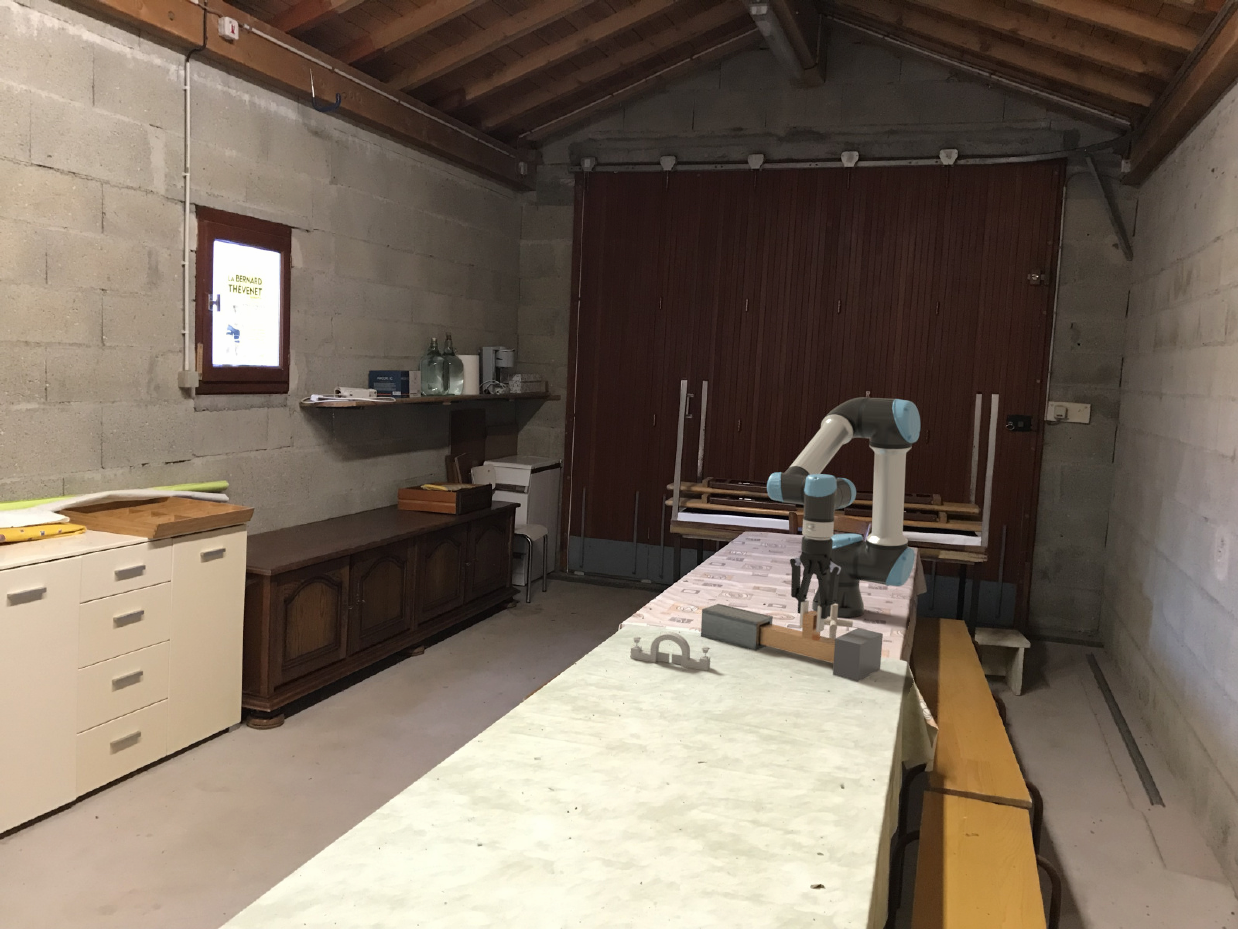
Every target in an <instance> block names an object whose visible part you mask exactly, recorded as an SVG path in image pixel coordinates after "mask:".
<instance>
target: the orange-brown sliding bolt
mask: <svg viewBox="0 0 1238 929" xmlns="http://www.w3.org/2000/svg"><path fill="white" fill-rule="evenodd" d="M816 626H817V612H816V611H814V610H813V609H812V610H808V612H806V613H804V614H803V628H801V629H802V630H797V629H794V628H790V627H785V626H781V625H777V624H773V623H772V624H769V623H764V624H761V625H759V636H758V644H762V645H766V647H769V648H770V647H771V648H774V649H779V650H783V651H787V652H789V653H794V654H797V655H800V656H801V655H802V656H805V657H809V658H812V659H816V660H820V661H821V660H822V661H823V662H824V661H825V662H829V663H834V648H835V639H831V638H829V637H826V636H823V635H821V631H820V632H816Z"/></svg>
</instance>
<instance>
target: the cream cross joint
mask: <svg viewBox="0 0 1238 929" xmlns="http://www.w3.org/2000/svg"><path fill="white" fill-rule="evenodd" d="M837 613H838V604H833V605H831V613H830V615H829V618H828V617H827V618H826V619H825V623H824V626H825V625H826V626H829V631H828V632H829V634H828V638H831V639H835V638H837V630H838V627H847V628H853V624H854V621H853V620H850V619H849V620H847V619H841V618H838V617H837Z"/></svg>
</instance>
